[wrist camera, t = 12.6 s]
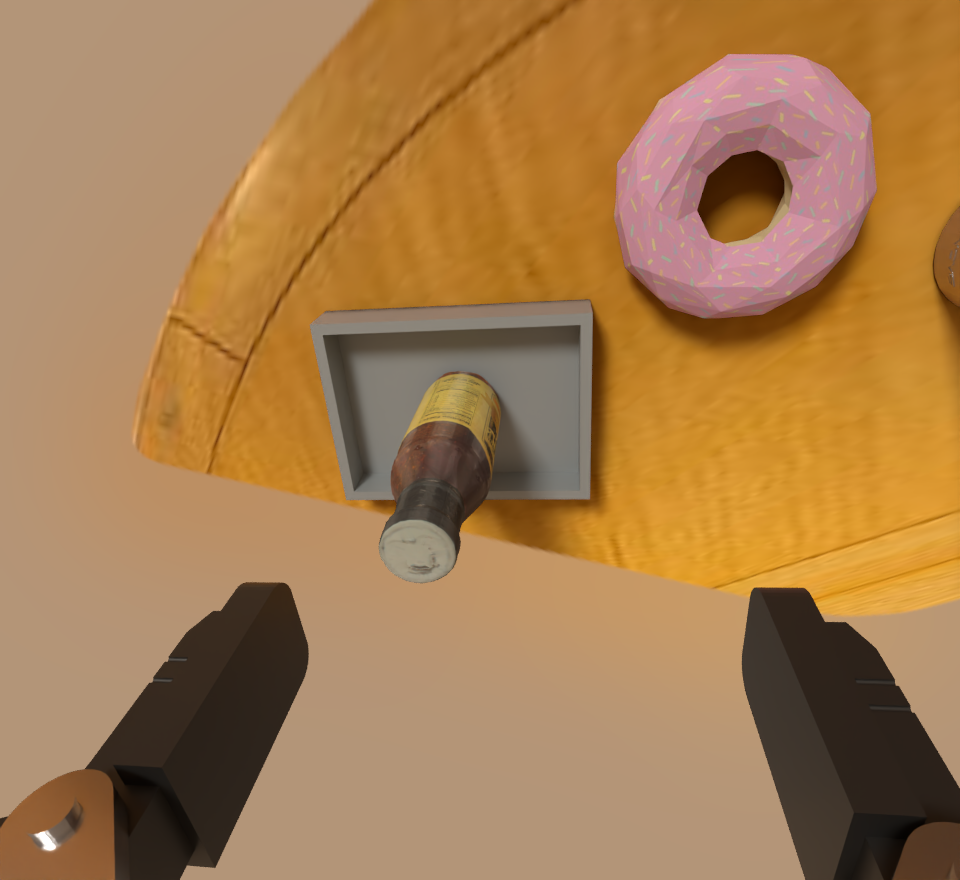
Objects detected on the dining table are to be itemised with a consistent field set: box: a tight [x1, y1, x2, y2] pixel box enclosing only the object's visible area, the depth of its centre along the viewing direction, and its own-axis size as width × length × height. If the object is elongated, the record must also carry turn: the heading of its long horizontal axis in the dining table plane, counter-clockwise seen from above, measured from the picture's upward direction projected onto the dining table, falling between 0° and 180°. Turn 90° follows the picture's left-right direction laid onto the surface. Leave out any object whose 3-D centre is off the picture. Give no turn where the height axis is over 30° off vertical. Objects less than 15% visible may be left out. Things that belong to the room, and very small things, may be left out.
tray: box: [310, 300, 593, 500], centre depth 47 cm, size 20×15×4 cm
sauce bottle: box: [379, 371, 501, 583], centre depth 39 cm, size 7×6×20 cm
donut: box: [614, 54, 877, 318], centre depth 37 cm, size 16×15×5 cm
